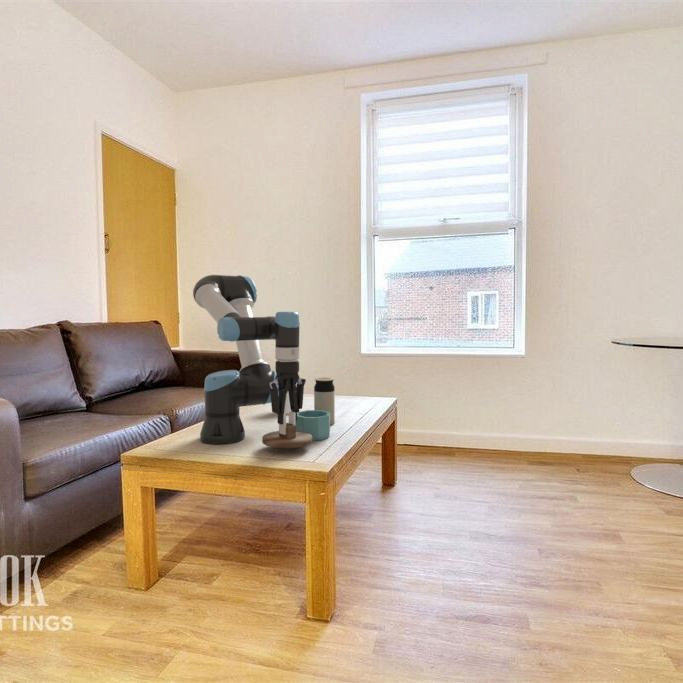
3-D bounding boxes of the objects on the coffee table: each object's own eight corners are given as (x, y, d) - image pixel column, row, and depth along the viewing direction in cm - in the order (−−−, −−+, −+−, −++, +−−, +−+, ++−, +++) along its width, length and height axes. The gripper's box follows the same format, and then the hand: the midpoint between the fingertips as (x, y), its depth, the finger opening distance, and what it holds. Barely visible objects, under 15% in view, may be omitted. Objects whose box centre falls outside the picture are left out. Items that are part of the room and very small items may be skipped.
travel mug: (334, 426, 182) (334, 379, 180) (313, 426, 182) (313, 379, 181) (334, 421, 190) (334, 376, 188) (315, 421, 190) (314, 376, 189)
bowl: (289, 435, 168) (288, 413, 167) (315, 429, 176) (314, 408, 175) (310, 442, 159) (310, 419, 158) (336, 436, 167) (336, 414, 167)
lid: (252, 439, 152) (252, 424, 152) (292, 431, 163) (292, 416, 163) (281, 451, 140) (281, 434, 140) (322, 441, 151) (322, 425, 151)
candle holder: (298, 409, 211) (298, 383, 210) (295, 414, 201) (295, 387, 200) (276, 409, 211) (276, 383, 210) (272, 414, 201) (272, 386, 201)
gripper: (273, 363, 141) (273, 440, 143) (314, 359, 152) (314, 430, 154) (259, 361, 147) (259, 434, 149) (300, 357, 158) (300, 426, 160)
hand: (287, 432), depth 152 cm, fingers closed on lid, 3 cm apart
